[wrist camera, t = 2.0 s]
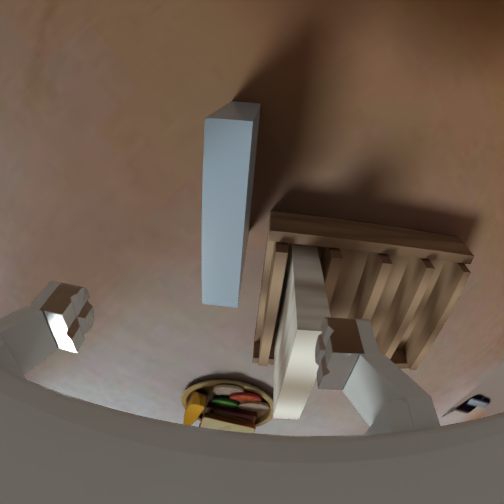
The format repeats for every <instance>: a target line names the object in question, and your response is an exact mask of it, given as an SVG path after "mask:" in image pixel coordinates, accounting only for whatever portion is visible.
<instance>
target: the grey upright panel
mask: <svg viewBox="0 0 504 504" xmlns="http://www.w3.org/2000/svg"><path fill="white" fill-rule="evenodd" d="M260 107H261V103H250V102H237V101H231V102H229V103H228V104H226V105H225V106H223V107H222V108H220V109H218V110H217V111H215V112H214V113H212V114H211V115H209V116H208V117H206V118H205V132H204V156H203V190H202V304H209V305H218V306H226V307H235V308H238V302H239V295H240V289H241V282H242V275H243V268H244V262H245V255H246V248H247V242H248V235H249V226H250V215H251V204H252V193H253V182H254V171H255V161H256V150H257V139H258V129H259V118H260Z"/></svg>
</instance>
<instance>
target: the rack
mask: <svg viewBox="0 0 504 504" xmlns="http://www.w3.org/2000/svg"><path fill="white" fill-rule="evenodd" d="M473 258H474V255H473V254H472V253H471V252H470V251H469V249H468V248H467V247H466V246H465V245H464V244H463V242H462V241H461V240H460V239H459V238H458V237H455V236H449V235H444V234H438V233H431V232H425V231H419V230H413V229H406V228H400V227H393V226H386V225H379V224H372V223H365V222H358V221H350V220H343V219H335V218H327V217H319V216H311V215H303V214H294V213H285V212H276V211H271V213H270V221H269V229H268V237H267V245H266V253H265V261H264V269H263V277H262V285H261V293H260V300H259V308H258V316H257V323H256V331H255V338H254V350H253V363H258V365H262V366H267V364H271V365H274V390H273V418H281V419H299V417H300V415H301V413H302V410H303V408H304V406H305V403H306V401H307V399H308V396H309V394H310V392H311V389H312V387H313V384H314V382H315V379H316V377H317V370H318V368H319V366H318V365H317V364H316V362H315V347H316V341H317V338H318V335H320V334H321V333H322V329H321V325H322V322H323V319H324V318H325V317H330V318H347V319H368V320H369V321H370V323H371V326H372V329H373V332H374V335H375V339H376V342H377V345H378V348H379V352H380V355H385V356H386V357H388V358H389V359H390V360H391V361H392V362H393V363H394V364H395V365H396V366H398V367H399V368H409V369H410V370H416V369H417V367H418V366H419V364H420V363H421V361H422V360H423V358H424V357H425V355H426V354H427V352H428V350H429V349H430V347H431V345H432V344H433V342H434V341H435V339H436V337H437V336H438V334H439V332H440V330H441V329H442V327H443V325H444V323H445V322H446V320H447V318H448V316H449V314H450V313H451V311H452V309H453V307H454V305H455V303H456V301H457V299H458V298H459V296H460V294H461V292H462V290H463V288H464V286H465V284H466V281H467V279H468V277H469V275H470V273H471V272H470V271H469V270H468V268H467V267H466V266H465V264H471V262H472V260H473ZM464 263H465V264H464Z"/></svg>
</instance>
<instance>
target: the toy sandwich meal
mask: <svg viewBox="0 0 504 504" xmlns="http://www.w3.org/2000/svg"><path fill="white" fill-rule="evenodd" d="M181 402H182V405H183V407H184V408H185V410H186V411H185V415H184V425H190V426H191V425H192V424H193V423H194V422H195V421H196V420H197V419H198V420H200V421H201V423H200V425H199V427H202V428H209V429H217V430H225V431H234V432H244V433H253V432H254V431H255V427H257V426H260V425H263V424H265V423H267V422H268V421H270V420H271V419H272V418H273V399H272V398H271V397H270V396H269V395H268V394H267V393H265V392H264V391H262V390H261V389H259V388H258V387H256V386H253V385H251V384H248V383H245V382H241V381H236V380H229V379H212V380H206V381H202V382H199V383H197V384H194V385H192V386H190V387H189V388H187V389H186V390H185V391H184V392H183V394H182V397H181Z"/></svg>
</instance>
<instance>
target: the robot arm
mask: <svg viewBox="0 0 504 504" xmlns="http://www.w3.org/2000/svg"><path fill="white" fill-rule="evenodd" d="M89 297H90V296H89V293H88V290H87V289H86V288H84V287H80V286H75V285H71V284H66V283H60V282H56V281H51V282H49V283H48V284H47V286H46V287H45V288H44V289H43V290H42V292H41V293H40V294H39V295H38V296H37V298H36V299H35V300H34V301H33V302H32V304H31V305H30V306H29V307H27V306H25V307H23V308H21V309H19V310H17V311H15V312H13V313H11V314H9V315H7V316H5V317H3V318H1V319H0V504H504V412H503V413H499V414H495V415H492V416H488V417H483V418H479V419H475V420H470V421H466V422H461V423H456V424H450V425H445V426H440V424H439V420H438V417H437V414H436V411H435V408H434V404H433V401H432V398H431V396H430V395H429V394H428V393H427V392H425V391H424V390H423V389H422V388H421V387H420V386H419V385H418V384H417V383H415V382H414V381H413V380H412V379H411V378H410V377H409V376H408V375H407V374H405V373H404V372H403V371H402V370H401V369H400V368H399V367H398V366H396V365H395V364H394V363H393V362H392V361H391V360H390V359H389V358H388V357H386V356H385V355H380V352H379V348H378V345H377V342H376V339H375V335H374V332H373V329H372V326H371V323H370V321H369V320H368V319H347V318H330V317H325V318H324V319H323V322H322V325H321V329H322V333H321V334H320V335H318V338H317V341H316V347H315V362H316V364H317V365H318V366H319V368H318V370H317V382H318V389H333V390H343V392H344V394H345V395H346V396H347V398H348V399H349V400H350V401H351V403H352V404H353V405H354V407H355V408H356V409H357V411H358V412H359V413H360V415H361V416H362V417H363V419H364V420H365V421H366V422H367V424H368V425H369V426H370V428H369V429H368V430H367V432H366V433H365V434H364V435H349V436H289V435H269V434H255V433H244V432H234V431H225V430H217V429H209V428H202V427H196V426H190V425H184V424H178V423H172V422H167V421H162V420H157V419H153V418H148V417H143V416H139V415H135V414H131V413H127V412H123V411H119V410H115V409H111V408H108V407H104V406H101V405H97V404H94V403H91V402H87V401H84V400H81V399H78V398H75V397H72V396H69V395H66V394H63V393H60V392H57V391H54V390H52V389H49V388H46V387H44V386H41V385H39V384H36V383H33V382H31V381H29V380H27V379H26V378H25V376H24V375H25V374H26V373H27V372H29V371H30V370H31V369H33V368H34V367H35V366H37V365H38V364H39V363H41V362H42V361H43V360H45V359H46V358H47V357H49V356H50V355H51V354H53V353H54V352H55V351H57V350H58V348H59V349H63V350H67V351H71V352H75V353H77V352H78V350H79V348H80V347H81V345H82V343H83V341H84V336H83V335H84V334H86V333H87V332H89V331H90V329H91V327H92V325H93V321H94V311H93V307H92V306H91V304H90V303H89V302H88V299H89Z"/></svg>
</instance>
